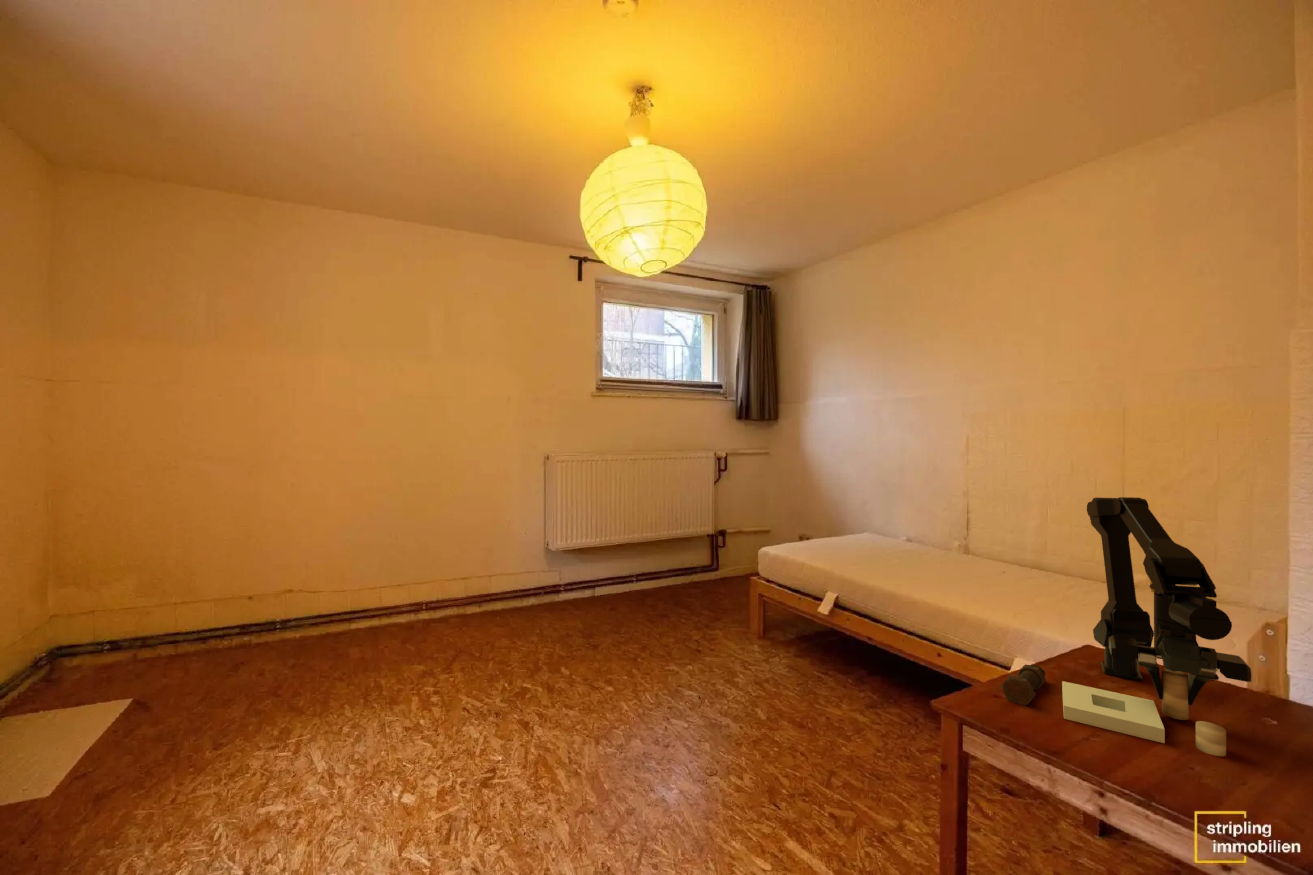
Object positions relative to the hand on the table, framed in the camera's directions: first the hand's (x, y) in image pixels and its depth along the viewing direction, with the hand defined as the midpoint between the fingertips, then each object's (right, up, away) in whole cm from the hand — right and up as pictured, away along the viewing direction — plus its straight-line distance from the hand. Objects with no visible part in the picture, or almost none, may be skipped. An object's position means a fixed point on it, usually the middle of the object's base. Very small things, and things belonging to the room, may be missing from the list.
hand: (1174, 701), depth 100 cm
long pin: (0, -3, 0) cm, 2 cm away
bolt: (-20, -4, +11) cm, 23 cm away
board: (-12, -3, +1) cm, 12 cm away
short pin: (-3, -4, -10) cm, 11 cm away
